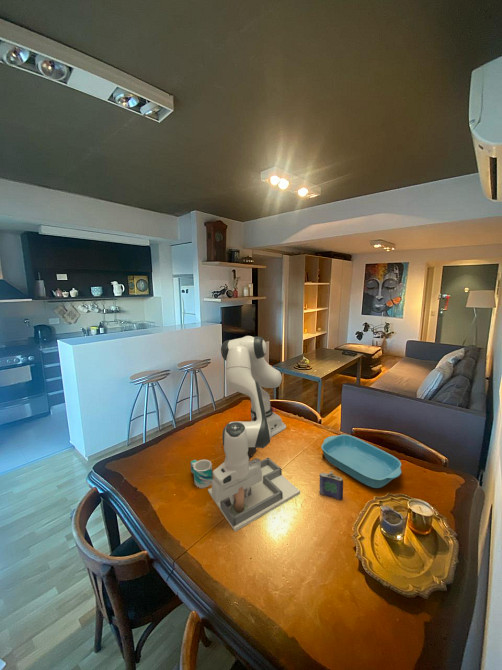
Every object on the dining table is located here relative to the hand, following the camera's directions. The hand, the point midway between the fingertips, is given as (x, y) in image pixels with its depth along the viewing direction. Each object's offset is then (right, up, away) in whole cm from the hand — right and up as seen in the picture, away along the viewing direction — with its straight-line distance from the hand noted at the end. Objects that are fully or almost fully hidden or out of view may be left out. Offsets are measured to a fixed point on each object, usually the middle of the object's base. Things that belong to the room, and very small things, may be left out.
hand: (238, 499), depth 103 cm
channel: (+6, -4, +11) cm, 13 cm away
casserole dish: (+55, 0, +25) cm, 60 cm away
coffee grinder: (+2, +1, +40) cm, 40 cm away
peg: (0, -4, +1) cm, 4 cm away
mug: (-18, -3, +20) cm, 27 cm away
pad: (0, -5, +1) cm, 5 cm away
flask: (+37, -3, +8) cm, 38 cm away
